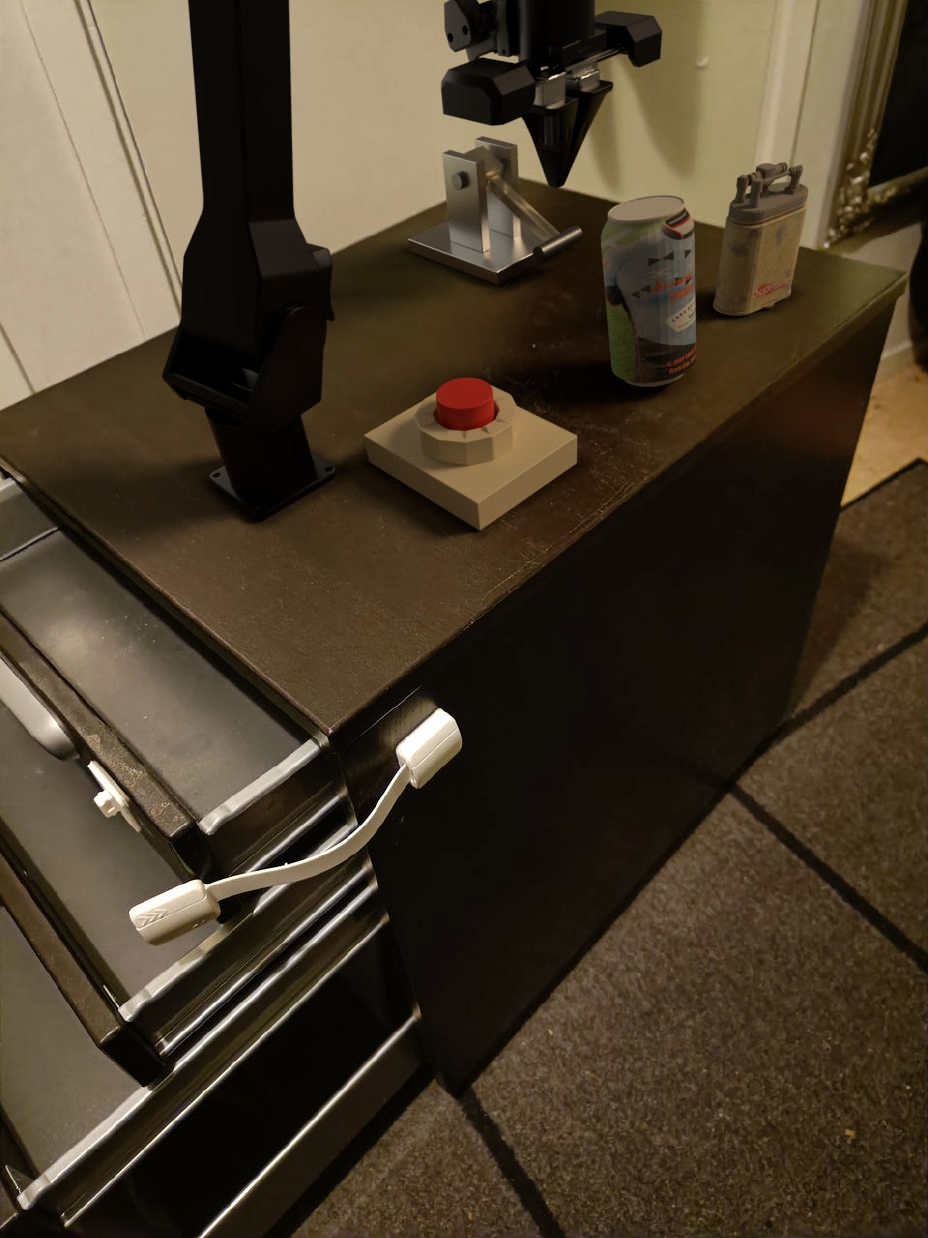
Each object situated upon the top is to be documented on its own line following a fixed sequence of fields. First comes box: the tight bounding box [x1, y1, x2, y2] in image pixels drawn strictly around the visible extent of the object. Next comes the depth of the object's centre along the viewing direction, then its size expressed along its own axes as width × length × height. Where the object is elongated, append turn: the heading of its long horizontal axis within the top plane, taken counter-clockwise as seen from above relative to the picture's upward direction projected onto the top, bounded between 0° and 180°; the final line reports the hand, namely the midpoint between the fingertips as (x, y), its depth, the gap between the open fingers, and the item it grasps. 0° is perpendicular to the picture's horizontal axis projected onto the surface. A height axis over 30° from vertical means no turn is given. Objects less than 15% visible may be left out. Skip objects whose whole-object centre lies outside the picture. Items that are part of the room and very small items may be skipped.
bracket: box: [407, 135, 566, 286], centre depth 76 cm, size 12×9×9 cm
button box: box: [363, 385, 578, 531], centre depth 55 cm, size 11×9×4 cm
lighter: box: [712, 161, 809, 317], centre depth 64 cm, size 7×4×10 cm, turn 122°
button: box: [435, 377, 494, 431], centre depth 53 cm, size 4×4×2 cm
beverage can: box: [600, 194, 697, 388], centre depth 57 cm, size 6×7×12 cm
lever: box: [464, 146, 583, 263], centre depth 73 cm, size 12×5×2 cm, turn 43°
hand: (556, 186), depth 69 cm, fingers closed
